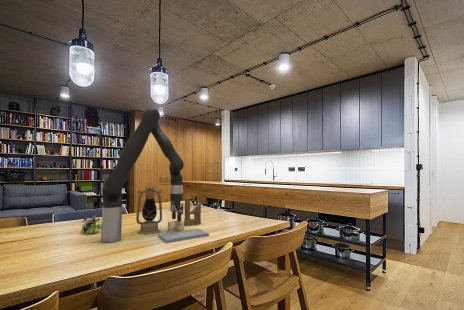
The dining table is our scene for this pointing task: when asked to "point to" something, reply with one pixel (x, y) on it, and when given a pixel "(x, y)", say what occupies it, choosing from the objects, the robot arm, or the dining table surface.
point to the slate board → (182, 235)
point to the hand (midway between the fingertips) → (176, 220)
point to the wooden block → (195, 211)
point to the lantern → (149, 211)
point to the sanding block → (175, 226)
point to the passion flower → (88, 227)
